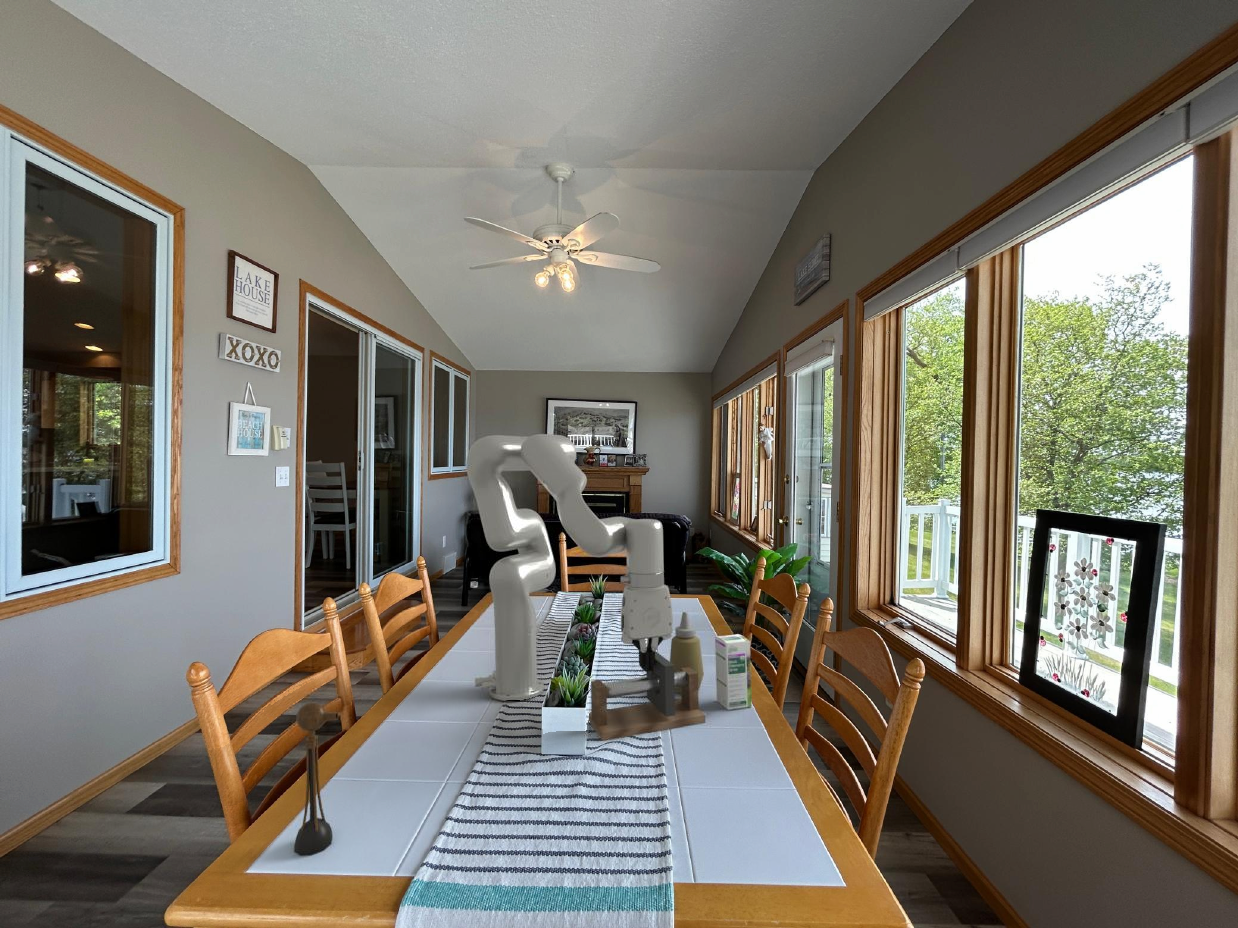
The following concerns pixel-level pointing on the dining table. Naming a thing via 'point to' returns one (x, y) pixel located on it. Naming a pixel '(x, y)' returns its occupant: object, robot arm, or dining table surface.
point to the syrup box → (733, 671)
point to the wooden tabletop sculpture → (313, 783)
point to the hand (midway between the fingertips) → (647, 669)
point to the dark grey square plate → (663, 686)
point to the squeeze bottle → (686, 649)
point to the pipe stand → (643, 706)
